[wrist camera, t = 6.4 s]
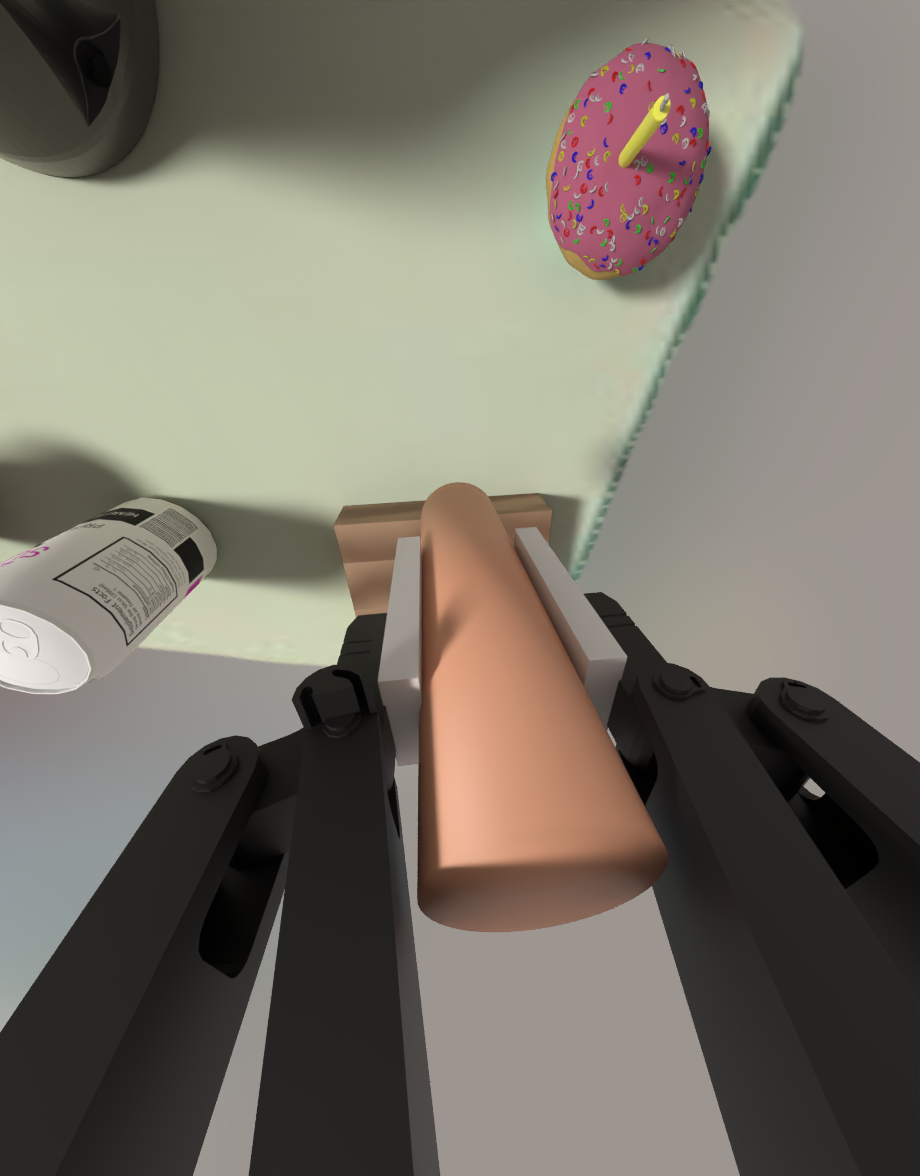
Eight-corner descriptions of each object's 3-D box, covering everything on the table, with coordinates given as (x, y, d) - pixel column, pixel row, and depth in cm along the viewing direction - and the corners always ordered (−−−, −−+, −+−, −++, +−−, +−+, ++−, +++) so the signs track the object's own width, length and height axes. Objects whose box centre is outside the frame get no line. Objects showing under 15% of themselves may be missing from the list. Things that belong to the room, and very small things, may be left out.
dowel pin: (417, 485, 16) (401, 846, 4) (495, 479, 16) (704, 809, 4) (424, 555, 18) (429, 943, 6) (494, 550, 18) (636, 915, 6)
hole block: (343, 506, 32) (333, 525, 29) (537, 493, 33) (552, 510, 30) (367, 611, 39) (361, 638, 35) (528, 597, 40) (539, 622, 36)
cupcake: (528, 297, 25) (598, 259, 15) (525, 112, 21) (624, -115, 11) (645, 280, 26) (790, 231, 16) (669, 93, 21) (899, -151, 11)
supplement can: (214, 588, 36) (102, 713, 23) (116, 557, 33) (-70, 680, 20) (228, 519, 32) (105, 623, 20) (119, 478, 29) (-105, 568, 17)
